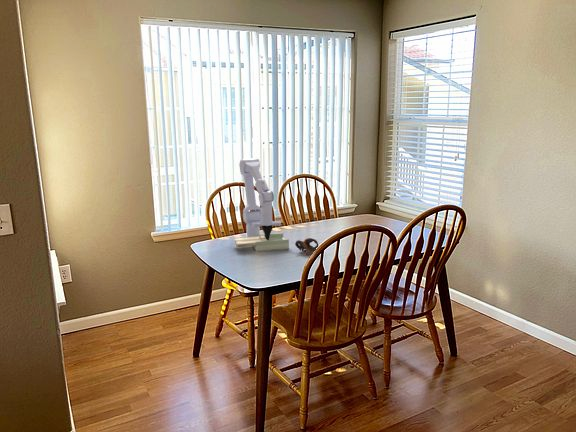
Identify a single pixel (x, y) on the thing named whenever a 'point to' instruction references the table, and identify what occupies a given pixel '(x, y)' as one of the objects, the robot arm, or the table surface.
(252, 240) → the cover plate
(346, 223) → the table surface
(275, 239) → the green tray
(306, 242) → the brown looped figurine
